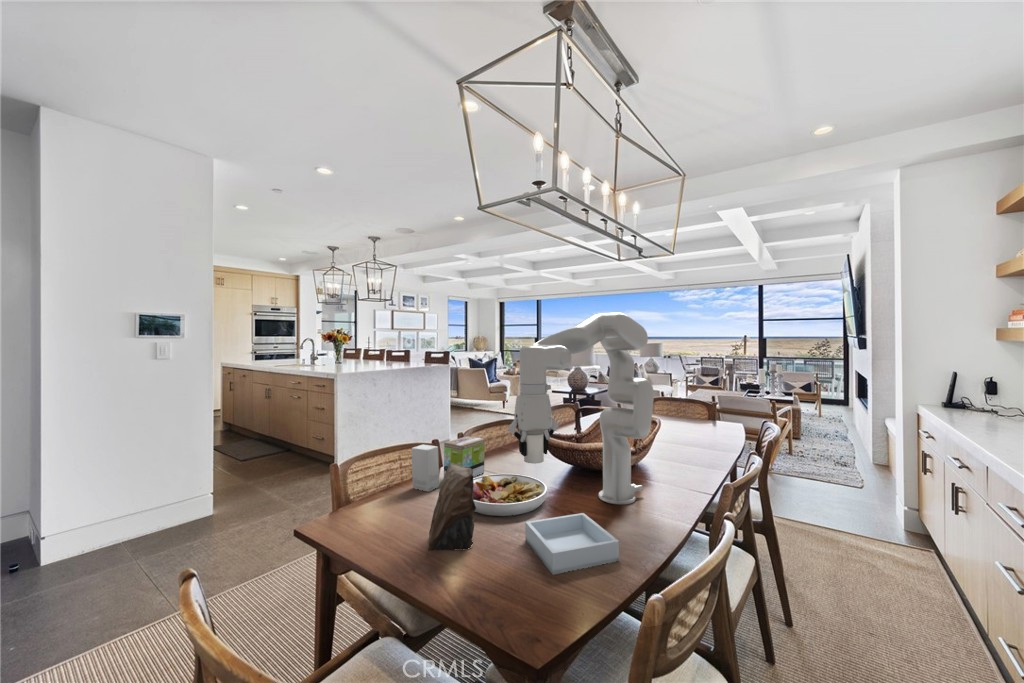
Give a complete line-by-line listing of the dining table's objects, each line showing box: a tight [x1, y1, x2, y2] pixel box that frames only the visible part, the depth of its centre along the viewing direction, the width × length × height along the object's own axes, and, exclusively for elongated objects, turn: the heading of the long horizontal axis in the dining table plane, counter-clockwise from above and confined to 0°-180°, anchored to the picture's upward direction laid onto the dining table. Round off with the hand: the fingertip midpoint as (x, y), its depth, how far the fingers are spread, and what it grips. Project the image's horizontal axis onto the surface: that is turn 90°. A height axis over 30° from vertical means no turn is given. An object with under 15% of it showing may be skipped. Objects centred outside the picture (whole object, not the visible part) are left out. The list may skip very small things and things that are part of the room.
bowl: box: [473, 473, 548, 517], centre depth 141 cm, size 30×30×8 cm
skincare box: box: [411, 444, 440, 493], centre depth 154 cm, size 8×7×16 cm
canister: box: [523, 430, 545, 465], centre depth 115 cm, size 6×6×9 cm
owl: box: [427, 463, 476, 552], centre depth 112 cm, size 13×13×20 cm
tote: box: [524, 512, 620, 576], centre depth 107 cm, size 18×18×5 cm
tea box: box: [443, 435, 486, 478], centre depth 168 cm, size 15×10×15 cm
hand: (533, 453), depth 115 cm, fingers closed on canister, 5 cm apart
